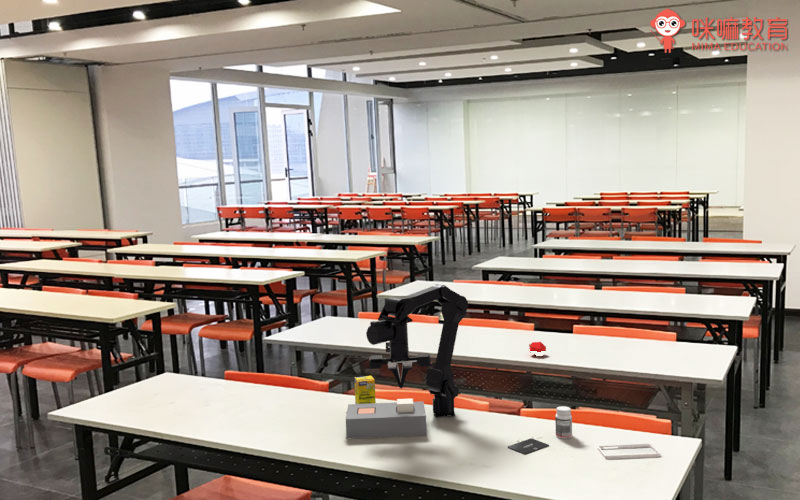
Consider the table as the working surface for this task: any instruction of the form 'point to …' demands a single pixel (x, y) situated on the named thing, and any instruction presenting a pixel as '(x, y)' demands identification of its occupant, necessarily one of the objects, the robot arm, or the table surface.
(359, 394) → the supplement box
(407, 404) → the ivory key
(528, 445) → the solid state drive
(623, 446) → the phone case
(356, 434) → the key console
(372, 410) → the terracotta key
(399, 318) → the robot arm
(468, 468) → the table surface
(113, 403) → the table surface
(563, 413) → the pill bottle
